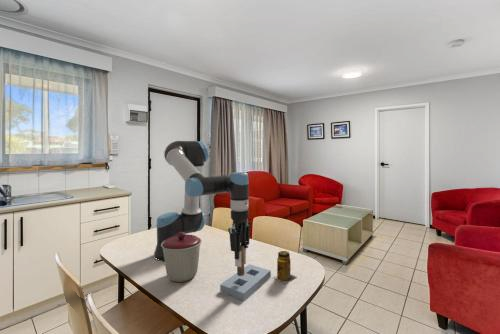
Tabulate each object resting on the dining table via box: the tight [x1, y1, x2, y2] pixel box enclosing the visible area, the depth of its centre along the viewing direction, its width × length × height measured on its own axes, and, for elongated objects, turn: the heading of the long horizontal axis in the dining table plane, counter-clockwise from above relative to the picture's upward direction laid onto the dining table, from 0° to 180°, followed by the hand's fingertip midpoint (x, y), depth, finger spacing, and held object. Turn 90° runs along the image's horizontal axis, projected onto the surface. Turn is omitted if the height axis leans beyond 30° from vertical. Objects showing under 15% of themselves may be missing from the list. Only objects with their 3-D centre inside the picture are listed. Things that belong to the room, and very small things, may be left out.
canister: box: [161, 232, 202, 283], centre depth 114 cm, size 18×18×21 cm
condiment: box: [273, 250, 297, 285], centre depth 113 cm, size 7×8×12 cm
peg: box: [236, 244, 245, 276], centre depth 103 cm, size 3×3×12 cm
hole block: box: [219, 264, 272, 302], centre depth 108 cm, size 12×22×3 cm, turn 147°
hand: (240, 264), depth 103 cm, fingers closed on peg, 3 cm apart
